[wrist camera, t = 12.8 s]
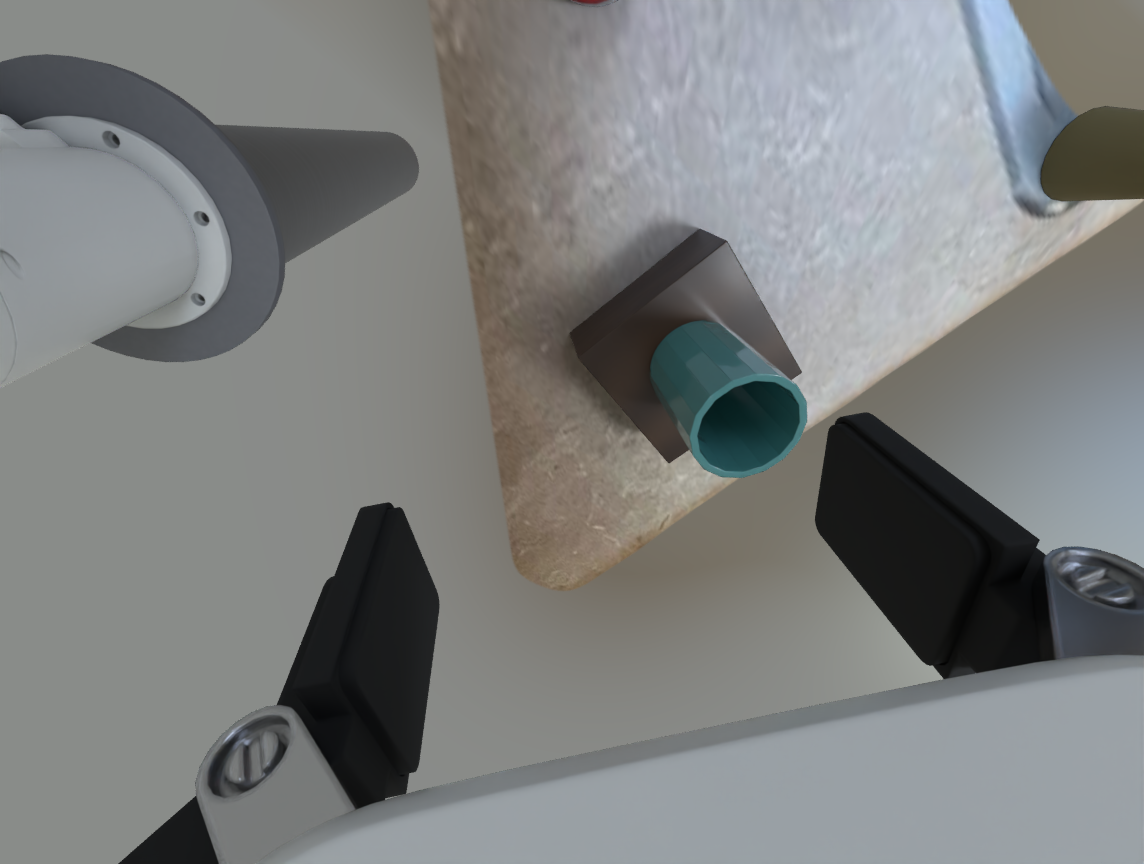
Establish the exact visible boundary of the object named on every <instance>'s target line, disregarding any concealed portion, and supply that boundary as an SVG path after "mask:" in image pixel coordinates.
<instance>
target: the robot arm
mask: <svg viewBox="0 0 1144 864" xmlns="http://www.w3.org/2000/svg"><path fill="white" fill-rule="evenodd" d="M117 137H118V138H119V141H120V143H119V142H118V140H117ZM205 214H206V215H207V216H208V217H209V220H207V219H206V218H205ZM231 265H232V253H231V246H230V239H229V236H228V233H227V230H226V227H225V224H224V221H223V218H222V217H221V215H220V213H219V211H218V209H217V207H216V205H215V203H214V201H213V200H212V198H211V197H210V195H209V194H208V193H207V191H206V190H205V189H204V187H203V186H202V184H201V183H200V182H199V180H198V179H197V178H196V177H195V176H194V175H193V174H192V173H191V172H190V171H189V170H188V169H187V168H186V167H185V166H184V165H183V164H182V163H181V162H180V161H179V160H178V159H176V158H175V157H174V156H172V155H171V154H170V153H169V152H167V151H166V150H165V149H164V148H162V147H161V146H160V145H158V144H156V143H155V142H153V141H151V140H149V139H148V138H146V137H144V136H143V135H141V134H139V133H137V132H135V131H133V130H130V129H128V128H125V127H123V126H121V125H118V124H116V123H112V122H108V121H104V120H100V119H96V118H92V117H79V116H50V117H43V118H40V119H37V120H33V121H30V122H26V123H25V124H23V125H22V126H20V125H19V124H17V123H16V122H15V121H14V120H12V119H11V118H10V117H9V116H7V115H3V114H0V388H1V387H3V386H5V385H7V384H9V383H11V382H13V381H15V380H17V379H19V378H21V377H23V376H25V375H27V374H29V373H31V372H33V371H35V370H37V369H39V368H41V367H43V366H45V365H47V364H49V363H51V362H53V361H55V360H57V359H59V358H61V357H63V356H65V355H67V354H69V353H71V352H73V351H75V350H77V349H79V348H81V347H83V346H85V345H87V344H89V343H91V342H93V341H95V340H97V339H99V338H101V337H103V336H105V335H107V334H109V333H111V332H113V331H115V330H117V329H119V328H121V327H123V326H131V327H137V328H143V329H163V328H169V327H174V326H180V325H182V324H185V323H187V322H190V321H192V320H194V319H196V318H198V317H199V316H201V315H203V314H204V313H206V312H207V311H208V310H210V309H211V308H212V307H213V306H214V305H215V304H216V303H217V302H218V301H219V299H220V298H221V296H222V295H223V293H224V291H225V290H226V288H227V284H228V281H229V278H230V275H231ZM201 295H202V296H203V297H204V298H202V296H201ZM815 523H816V527H817V530H818V532H819V533H820V535H821V536H822V537H823V539H824V540H825V541H826V542H827V544H828V545H829V546H830V547H831V549H832V550H833V551H834V552H835V554H836V555H837V556H838V557H839V559H840V560H841V561H842V562H843V564H844V565H845V566H846V567H847V569H848V570H849V571H850V572H851V574H852V575H853V576H854V577H855V579H856V580H857V581H858V582H859V583H860V585H861V586H862V587H863V589H864V590H865V591H866V592H867V594H868V595H869V596H870V597H871V599H872V600H873V601H874V602H875V604H876V605H877V606H878V607H879V609H880V610H881V611H882V612H883V614H884V615H885V616H886V617H887V619H888V620H889V621H890V622H891V623H892V625H893V626H894V627H895V628H896V630H897V631H898V632H899V633H900V635H901V636H902V637H903V639H904V640H905V641H906V642H907V644H908V645H909V646H910V647H911V648H912V650H913V651H914V652H915V653H916V655H917V656H918V657H919V658H920V659H921V660H922V661H923V662H924V663H925V664H927V665H930V666H931V665H933V666H934V668H935V669H936V670H937V671H938V672H939V674H940V675H941V676H942V677H943V680H938V681H934V682H928V683H923V684H918V685H913V686H909V687H904V688H899V689H894V690H889V691H884V692H879V693H874V694H869V695H864V696H859V697H854V698H849V699H845V700H840V701H834V702H829V703H824V704H819V705H815V706H809V707H805V708H800V709H795V710H790V711H785V712H781V713H776V714H771V715H766V716H761V717H756V718H751V719H747V720H742V721H737V722H732V723H727V724H722V725H718V726H713V727H708V728H703V729H698V730H693V731H689V732H684V733H679V734H674V735H669V736H665V737H660V738H656V739H650V740H645V741H641V742H636V743H632V744H627V745H622V746H617V747H613V748H609V749H603V750H599V751H594V752H589V753H585V754H580V755H575V756H571V757H566V758H561V759H556V760H552V761H547V762H542V763H537V764H533V765H528V766H523V767H519V768H514V769H510V770H505V771H501V772H496V773H492V774H488V775H483V776H479V777H475V778H471V779H466V780H462V781H458V782H453V783H449V784H445V785H440V786H436V787H432V788H427V789H423V790H419V791H415V792H412V793H408V794H406V790H407V784H408V777H409V773H412V772H416V770H417V768H418V765H419V760H420V752H421V745H422V737H423V729H424V722H425V714H426V707H427V698H428V691H429V684H430V676H431V668H432V660H433V652H434V644H435V638H436V630H437V622H438V614H439V597H438V593H437V590H436V588H435V585H434V583H433V580H432V578H431V576H430V573H429V571H428V568H427V566H426V564H425V561H424V559H423V557H422V554H421V552H420V550H419V547H418V545H417V542H416V540H415V538H414V535H413V533H412V530H411V528H410V525H409V523H408V521H407V518H406V516H405V514H404V511H403V509H402V508H400V507H398V508H394V507H393V505H392V504H391V503H382V504H377V505H372V506H367V507H363V508H361V509H360V510H359V512H358V515H357V518H356V520H355V523H354V526H353V528H352V531H351V534H350V536H349V539H348V541H347V544H346V547H345V550H344V552H343V555H342V557H341V560H340V563H339V565H338V568H337V570H336V573H335V576H333V577H331V578H329V579H328V580H327V581H326V583H325V585H324V587H323V589H322V592H321V594H320V597H319V599H318V602H317V604H316V607H315V610H314V612H313V615H312V617H311V620H310V622H309V625H308V627H307V630H306V632H305V635H304V637H303V640H302V642H301V645H300V647H299V650H298V653H297V655H296V658H295V660H294V663H293V665H292V668H291V670H290V673H289V675H288V678H287V681H286V683H285V685H284V688H283V691H282V693H281V696H280V698H279V701H278V703H277V705H274V706H267V707H264V708H261V709H259V710H256V711H254V712H251V713H249V714H248V715H246V716H245V717H243V718H242V719H240V720H238V721H237V722H236V723H234V724H233V725H232V726H231V727H230V728H229V729H228V730H226V731H225V732H224V733H223V734H222V735H221V736H220V737H219V738H218V740H217V741H216V742H215V743H214V745H213V746H212V747H211V748H210V750H209V751H208V753H207V755H206V756H205V758H204V760H203V762H202V764H201V766H200V767H199V771H198V774H197V778H196V782H195V786H196V796H195V797H194V798H193V799H192V800H191V801H190V802H188V803H187V804H186V805H185V806H184V807H183V808H182V809H180V810H179V811H178V812H177V813H176V814H175V815H173V816H172V817H171V818H170V819H169V820H168V821H167V822H165V823H164V824H163V825H162V826H161V827H160V828H159V829H158V830H156V831H155V832H154V833H153V834H152V835H151V836H149V837H148V838H147V839H146V840H145V841H144V842H143V843H141V844H140V845H139V846H138V847H137V848H136V849H135V850H134V851H132V852H131V853H130V854H129V855H128V856H127V857H126V858H124V859H123V860H122V861H121V862H120V863H119V864H1144V568H1142V567H1140V566H1139V565H1137V564H1136V563H1133V562H1131V561H1129V560H1126V559H1124V558H1122V557H1120V556H1117V555H1115V554H1111V553H1108V552H1105V551H1101V550H1098V549H1092V548H1085V547H1062V548H1058V549H1055V550H1052V551H1051V552H1050V553H1049V554H1047V555H1045V554H1044V553H1042V552H1041V551H1040V550H1039V549H1037V548H1036V546H1037V544H1038V542H1039V539H1038V538H1037V537H1035V536H1034V535H1032V534H1031V533H1030V532H1029V531H1027V530H1026V529H1024V528H1023V527H1022V526H1020V525H1019V524H1018V523H1017V522H1015V521H1014V520H1013V519H1011V518H1010V517H1009V516H1007V515H1006V514H1005V513H1003V512H1002V511H1001V510H999V509H998V508H997V507H995V506H994V505H992V504H991V503H990V502H989V501H987V500H986V499H985V498H983V497H982V496H980V495H979V494H978V493H976V492H975V491H974V490H972V489H971V488H970V487H968V486H967V485H966V484H964V483H963V482H962V481H960V480H959V479H958V478H956V477H955V476H954V475H952V474H951V473H950V472H948V471H947V470H946V469H944V468H943V467H942V466H940V465H939V464H938V463H936V462H935V461H934V460H932V459H931V458H930V457H928V456H927V455H926V454H924V453H923V452H922V451H920V450H919V449H918V448H916V447H915V446H914V445H912V444H911V443H910V442H908V441H907V440H906V439H904V438H903V437H902V436H900V435H899V434H898V433H896V432H895V431H893V430H892V429H891V428H890V427H888V426H887V425H885V424H884V423H883V422H881V421H880V420H879V419H878V418H876V417H875V416H874V415H872V414H870V413H859V414H854V415H849V416H843V417H840V418H838V419H837V421H836V422H835V425H832V426H831V427H830V428H829V431H828V437H827V444H826V450H825V457H824V463H823V469H822V476H821V482H820V489H819V496H818V502H817V509H816V515H815ZM403 794H405V795H403ZM398 795H401V796H398ZM393 796H398V797H394V798H391V799H387V800H385V798H388V797H393Z"/></svg>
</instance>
